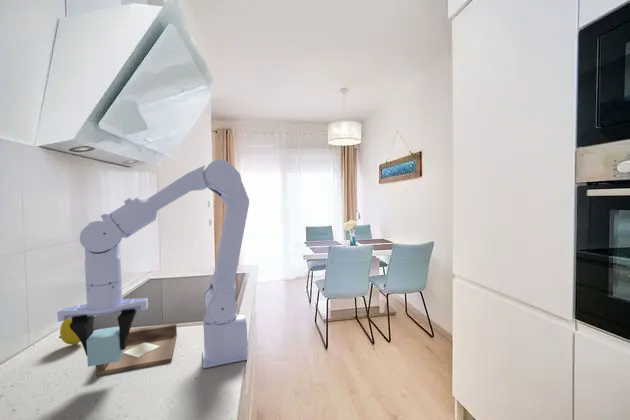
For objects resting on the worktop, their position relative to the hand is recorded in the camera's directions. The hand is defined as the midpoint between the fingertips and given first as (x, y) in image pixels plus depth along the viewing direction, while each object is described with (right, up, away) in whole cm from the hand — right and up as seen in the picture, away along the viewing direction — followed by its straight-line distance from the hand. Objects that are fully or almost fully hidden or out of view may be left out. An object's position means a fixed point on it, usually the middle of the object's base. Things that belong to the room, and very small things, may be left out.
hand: (107, 350), depth 59 cm
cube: (0, -1, 0) cm, 1 cm away
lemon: (-19, -7, +16) cm, 26 cm away
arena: (0, -6, +11) cm, 13 cm away
